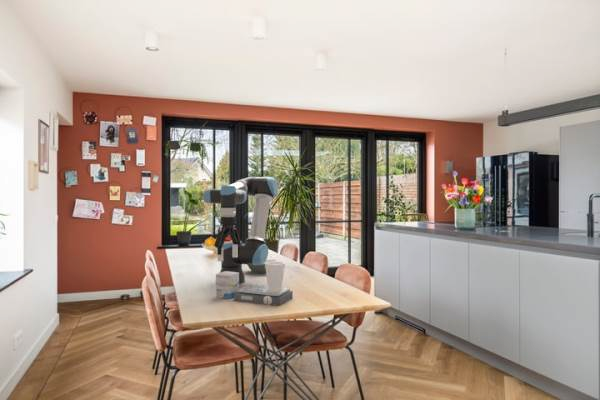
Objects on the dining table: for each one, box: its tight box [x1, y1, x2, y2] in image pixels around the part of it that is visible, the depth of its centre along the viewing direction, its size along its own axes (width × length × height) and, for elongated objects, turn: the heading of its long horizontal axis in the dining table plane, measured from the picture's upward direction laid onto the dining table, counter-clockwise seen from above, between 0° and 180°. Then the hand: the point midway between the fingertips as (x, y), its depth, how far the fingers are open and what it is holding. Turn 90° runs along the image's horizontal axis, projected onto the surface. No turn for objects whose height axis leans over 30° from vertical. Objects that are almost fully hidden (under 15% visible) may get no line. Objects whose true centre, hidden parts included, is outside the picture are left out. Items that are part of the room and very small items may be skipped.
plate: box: [237, 283, 291, 296], centre depth 201 cm, size 22×13×1 cm, turn 68°
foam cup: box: [265, 260, 286, 292], centre depth 199 cm, size 10×9×13 cm
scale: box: [233, 290, 294, 307], centre depth 201 cm, size 24×15×4 cm, turn 68°
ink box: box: [215, 271, 240, 300], centre depth 207 cm, size 9×8×12 cm
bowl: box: [246, 255, 276, 275], centre depth 269 cm, size 20×20×10 cm
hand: (227, 259), depth 206 cm, fingers open, 13 cm apart
